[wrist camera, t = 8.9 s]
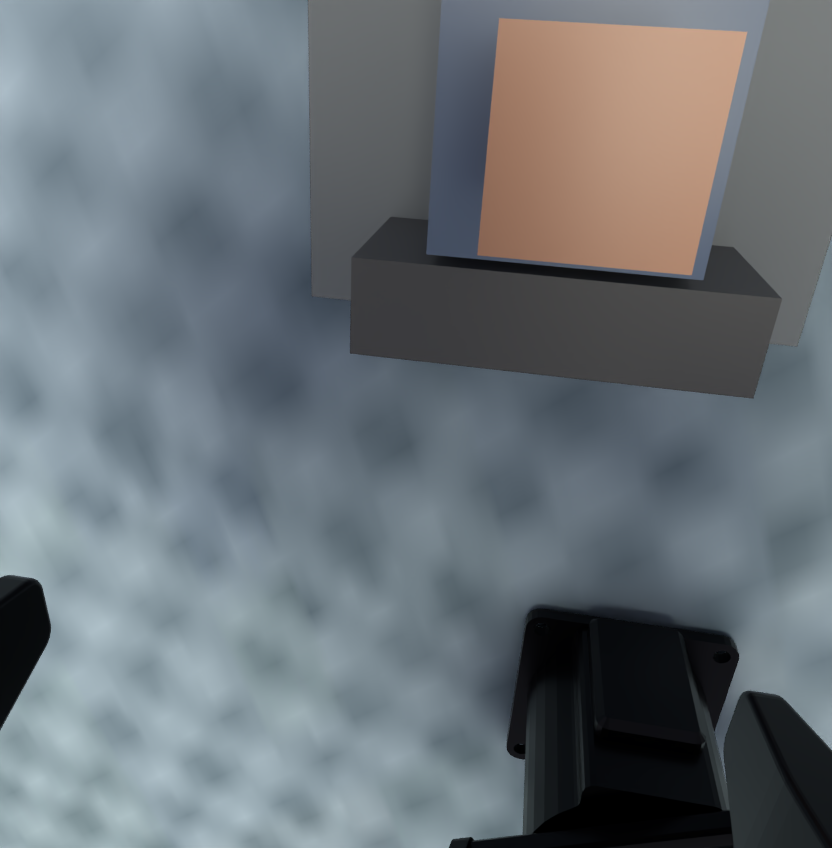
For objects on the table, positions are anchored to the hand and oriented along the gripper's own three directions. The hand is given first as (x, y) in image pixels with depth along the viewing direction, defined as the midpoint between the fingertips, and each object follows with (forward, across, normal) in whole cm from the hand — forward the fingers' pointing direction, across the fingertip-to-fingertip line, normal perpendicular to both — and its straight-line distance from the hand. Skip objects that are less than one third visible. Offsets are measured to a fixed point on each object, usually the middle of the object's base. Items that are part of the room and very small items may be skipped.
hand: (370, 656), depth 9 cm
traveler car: (+10, -2, -6) cm, 12 cm away
